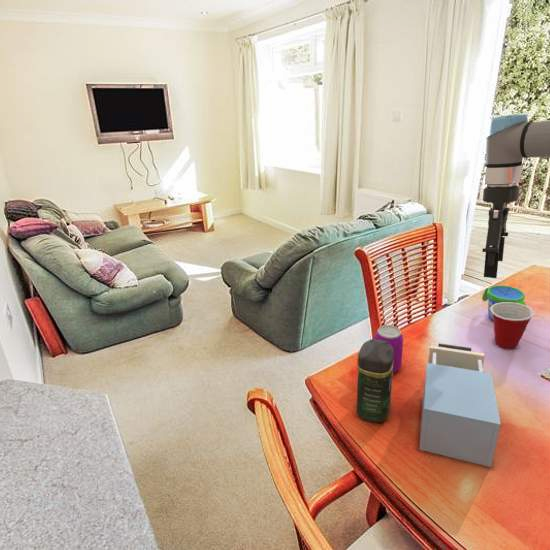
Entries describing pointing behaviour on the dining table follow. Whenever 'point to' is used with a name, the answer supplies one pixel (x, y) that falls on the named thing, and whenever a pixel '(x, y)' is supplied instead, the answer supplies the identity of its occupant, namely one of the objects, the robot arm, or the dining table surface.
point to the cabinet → (459, 414)
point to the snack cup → (502, 296)
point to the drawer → (456, 357)
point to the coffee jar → (374, 380)
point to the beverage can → (392, 342)
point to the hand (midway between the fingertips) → (493, 268)
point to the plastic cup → (510, 323)
